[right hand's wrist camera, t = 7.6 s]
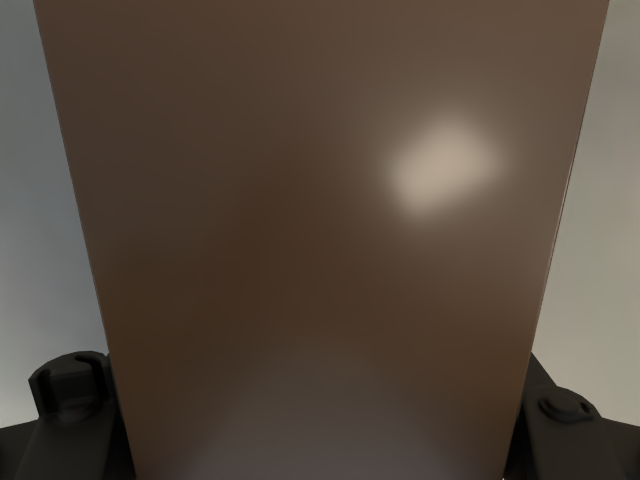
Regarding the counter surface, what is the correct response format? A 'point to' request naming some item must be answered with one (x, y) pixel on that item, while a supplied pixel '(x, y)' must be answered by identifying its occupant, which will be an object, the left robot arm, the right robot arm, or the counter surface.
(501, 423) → the beam
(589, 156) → the counter surface
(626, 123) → the counter surface
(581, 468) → the right robot arm
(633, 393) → the counter surface
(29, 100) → the counter surface
